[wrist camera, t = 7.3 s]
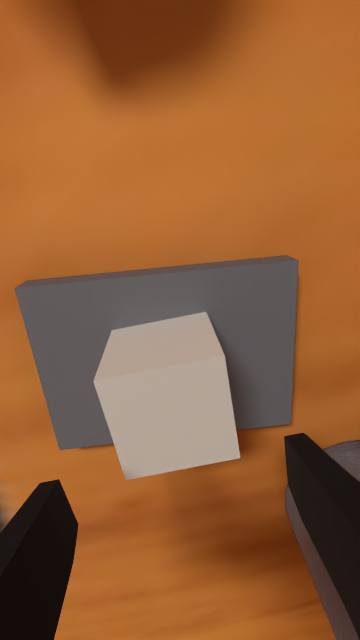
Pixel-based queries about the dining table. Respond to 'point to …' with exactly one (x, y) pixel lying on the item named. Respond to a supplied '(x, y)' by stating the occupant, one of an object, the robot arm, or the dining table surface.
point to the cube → (167, 396)
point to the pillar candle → (356, 461)
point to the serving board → (155, 305)
